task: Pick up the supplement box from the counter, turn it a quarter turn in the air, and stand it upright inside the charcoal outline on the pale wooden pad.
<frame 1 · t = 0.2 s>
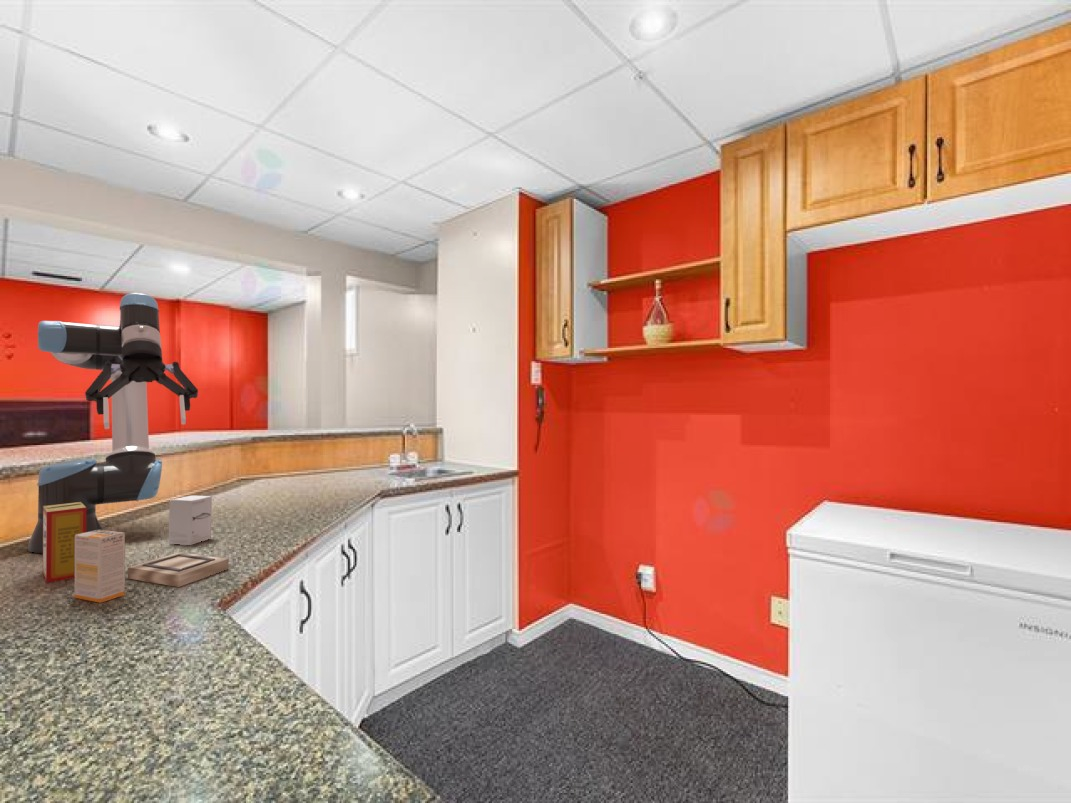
hand: (146, 423, 111), 35 cm above the countertop, tool tilted 35°, fingers open, 13 cm apart
seat pad: (179, 573, 116), on the countertop
supplement box 2: (190, 542, 142), on the countertop
baking soda box: (64, 574, 115), on the countertop
supplement box: (99, 597, 102), on the countertop
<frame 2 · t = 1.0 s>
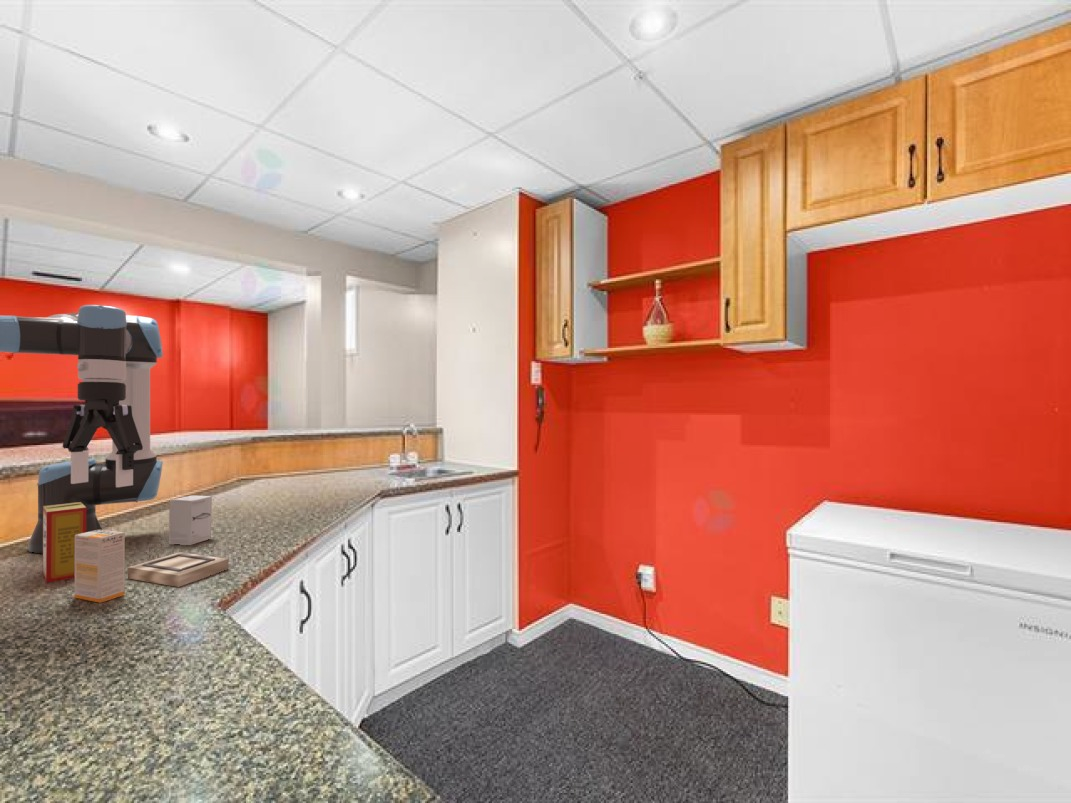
hand: (101, 484, 102), 23 cm above the countertop, tool pointing down, fingers open, 13 cm apart
nothing on the countertop moved.
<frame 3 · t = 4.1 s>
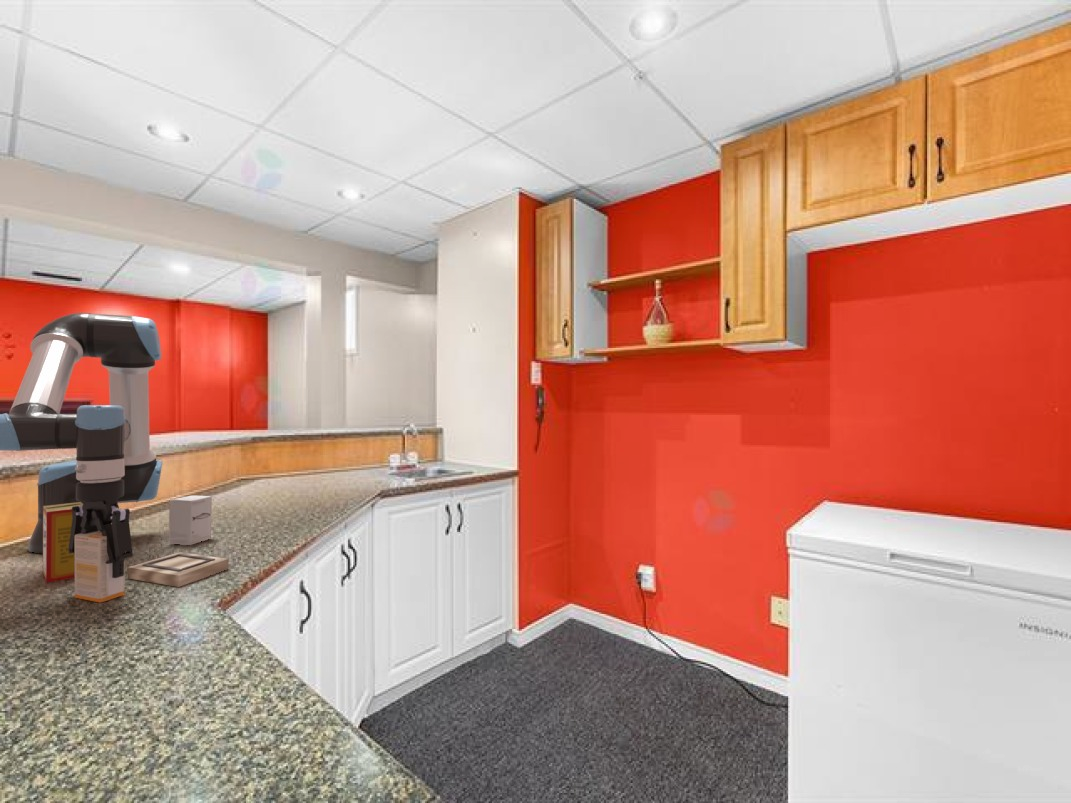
hand: (100, 590, 102), 1 cm above the countertop, tool pointing down, fingers closed on supplement box, 8 cm apart
supplement box: (100, 597, 102), on the countertop, touching gripper
everything else where it was.
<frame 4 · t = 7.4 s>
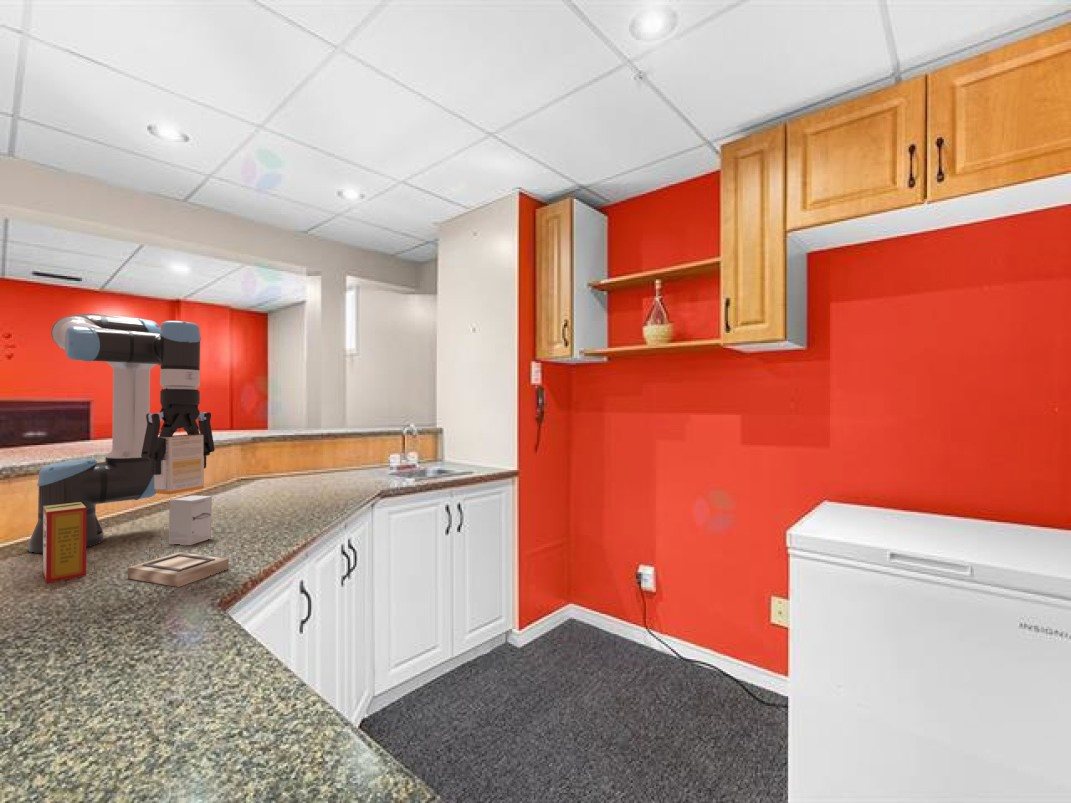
hand: (179, 485, 116), 21 cm above the countertop, tool pointing down, fingers closed on supplement box, 8 cm apart
supplement box: (179, 492, 116), point 19 cm above the countertop, touching gripper
everything else where it was.
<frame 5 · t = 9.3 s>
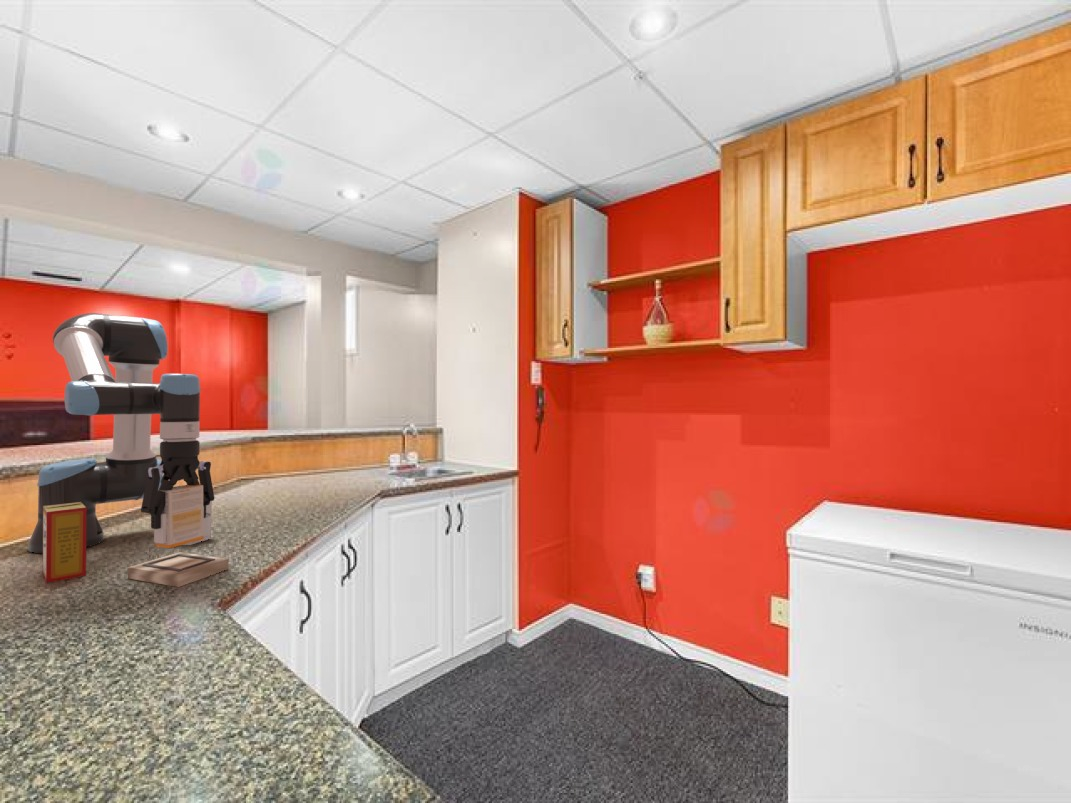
hand: (179, 537, 116), 8 cm above the countertop, tool pointing down, fingers closed on supplement box, 8 cm apart
supplement box: (179, 543, 116), point 7 cm above the countertop, touching gripper
everything else where it was.
when the fingers open (5 cm above the countertop, at t = 10.9 s): supplement box drops 1 cm, resting on seat pad.
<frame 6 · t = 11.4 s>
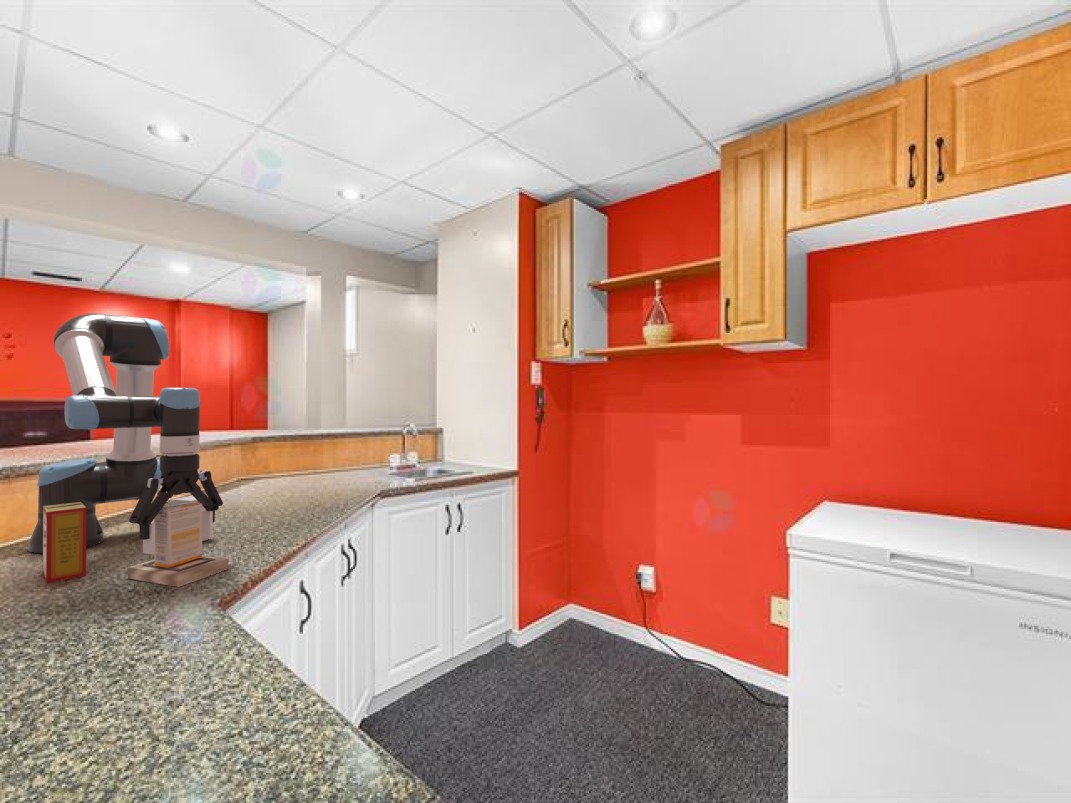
hand: (179, 545, 116), 7 cm above the countertop, tool pointing down, fingers open, 13 cm apart
supplement box: (178, 562, 116), point 3 cm above the countertop, touching seat pad
everything else where it was.
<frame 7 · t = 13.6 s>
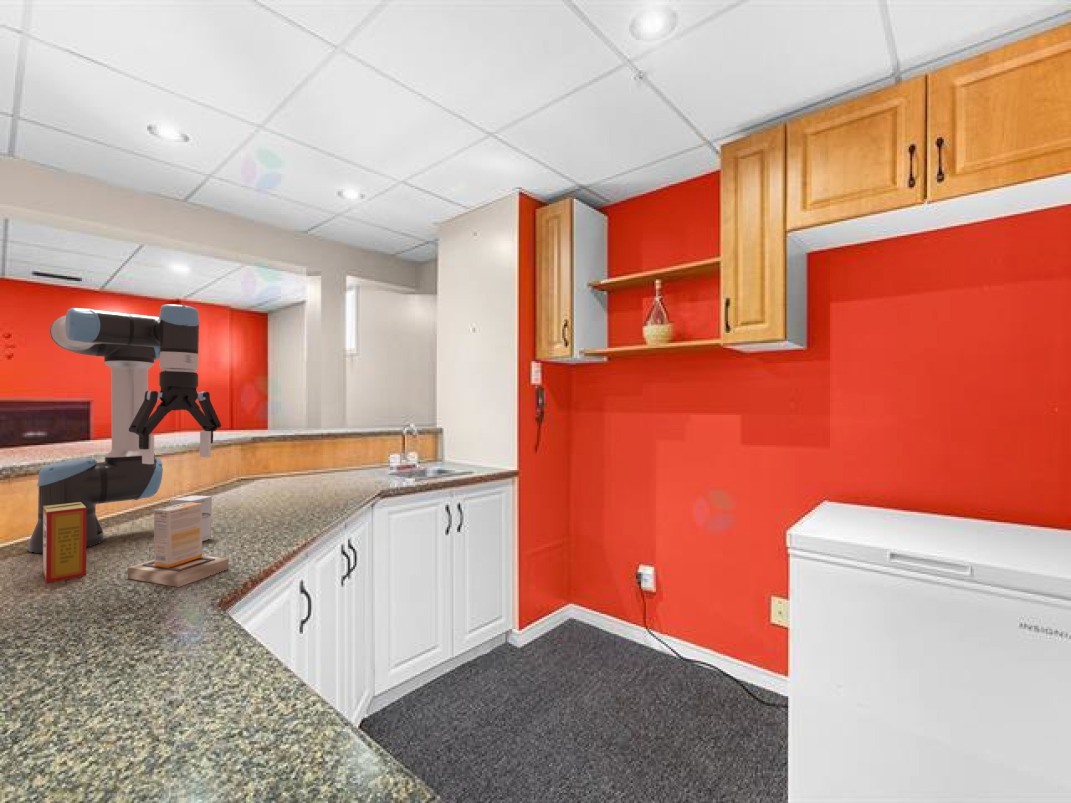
hand: (178, 460, 118), 26 cm above the countertop, tool pointing down, fingers open, 13 cm apart
nothing on the countertop moved.
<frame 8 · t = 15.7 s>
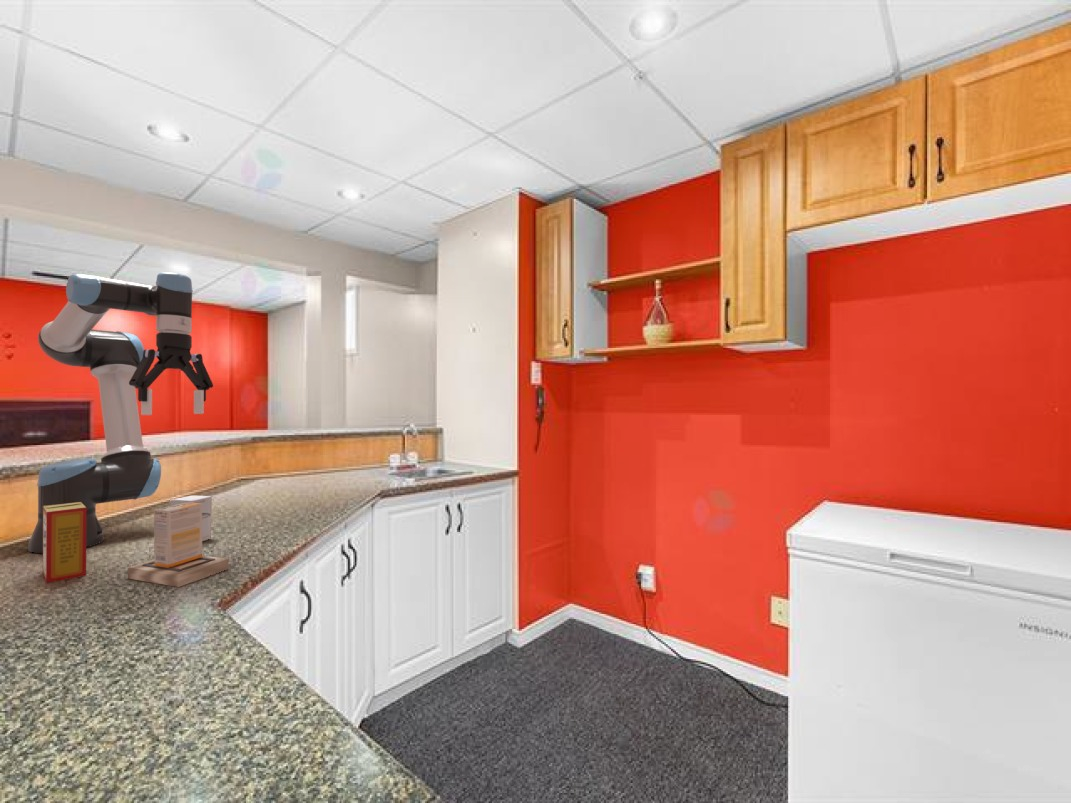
hand: (173, 414, 130), 37 cm above the countertop, tool pointing down, fingers open, 13 cm apart
nothing on the countertop moved.
at the end: supplement box 0.2 cm off-centre on the seat pad, point 2.6 cm above the seat pad's base; supplement box tilted 0°; the gripper is holding nothing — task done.
